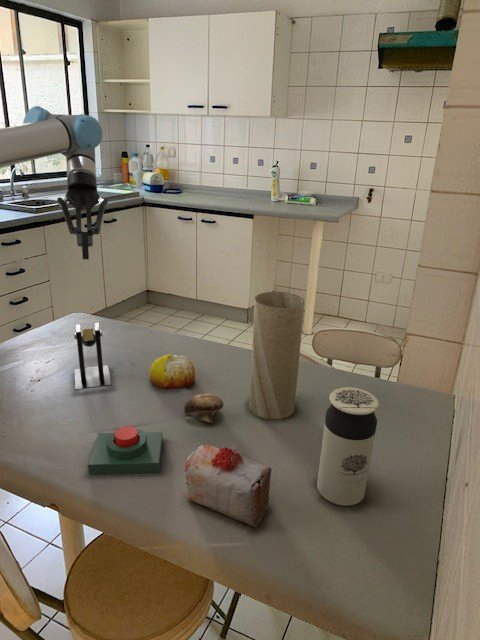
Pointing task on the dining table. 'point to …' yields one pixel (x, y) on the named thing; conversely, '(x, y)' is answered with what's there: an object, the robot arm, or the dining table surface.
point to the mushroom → (203, 406)
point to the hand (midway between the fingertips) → (85, 256)
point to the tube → (275, 353)
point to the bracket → (91, 375)
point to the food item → (228, 483)
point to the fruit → (172, 372)
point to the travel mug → (347, 445)
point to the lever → (88, 337)
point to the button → (126, 436)
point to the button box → (126, 454)
